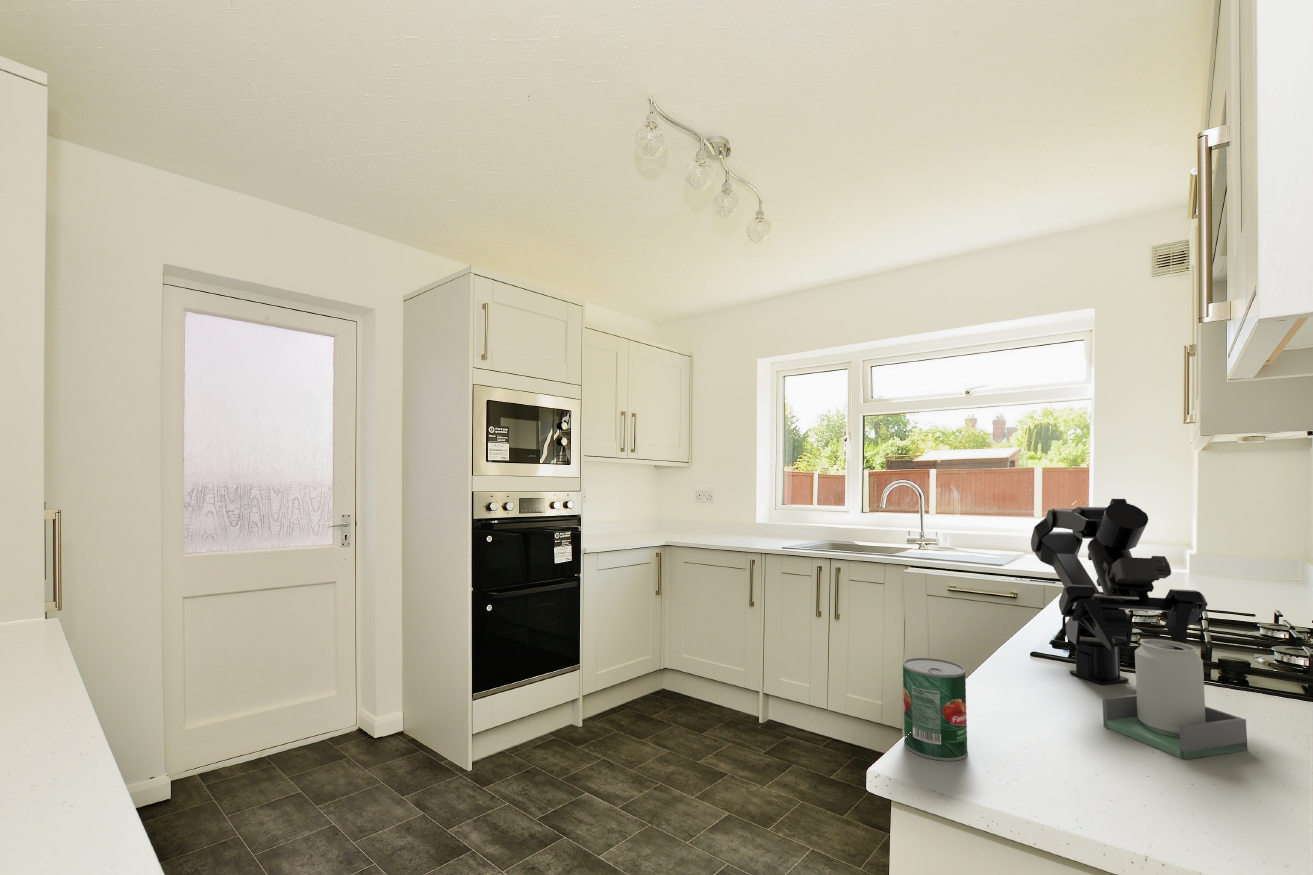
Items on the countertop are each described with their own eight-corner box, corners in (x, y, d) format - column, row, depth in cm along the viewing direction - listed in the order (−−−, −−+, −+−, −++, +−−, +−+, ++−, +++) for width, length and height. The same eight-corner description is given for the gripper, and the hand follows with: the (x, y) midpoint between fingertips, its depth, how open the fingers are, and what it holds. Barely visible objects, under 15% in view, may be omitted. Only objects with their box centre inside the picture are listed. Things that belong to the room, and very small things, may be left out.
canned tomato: (900, 733, 89) (899, 655, 90) (960, 739, 87) (958, 659, 88) (908, 757, 81) (906, 672, 82) (974, 764, 79) (971, 677, 80)
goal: (1160, 718, 95) (1159, 691, 95) (1247, 749, 84) (1245, 719, 84) (1103, 725, 92) (1102, 698, 92) (1185, 759, 81) (1184, 728, 81)
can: (1219, 736, 86) (1215, 647, 86) (1183, 744, 83) (1178, 652, 84) (1160, 716, 93) (1157, 634, 93) (1125, 722, 90) (1121, 638, 91)
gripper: (1062, 535, 103) (1089, 618, 92) (1198, 538, 98) (1244, 627, 87) (1048, 575, 110) (1072, 656, 99) (1174, 580, 105) (1214, 667, 94)
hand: (1147, 651), depth 95 cm, fingers open, 9 cm apart
